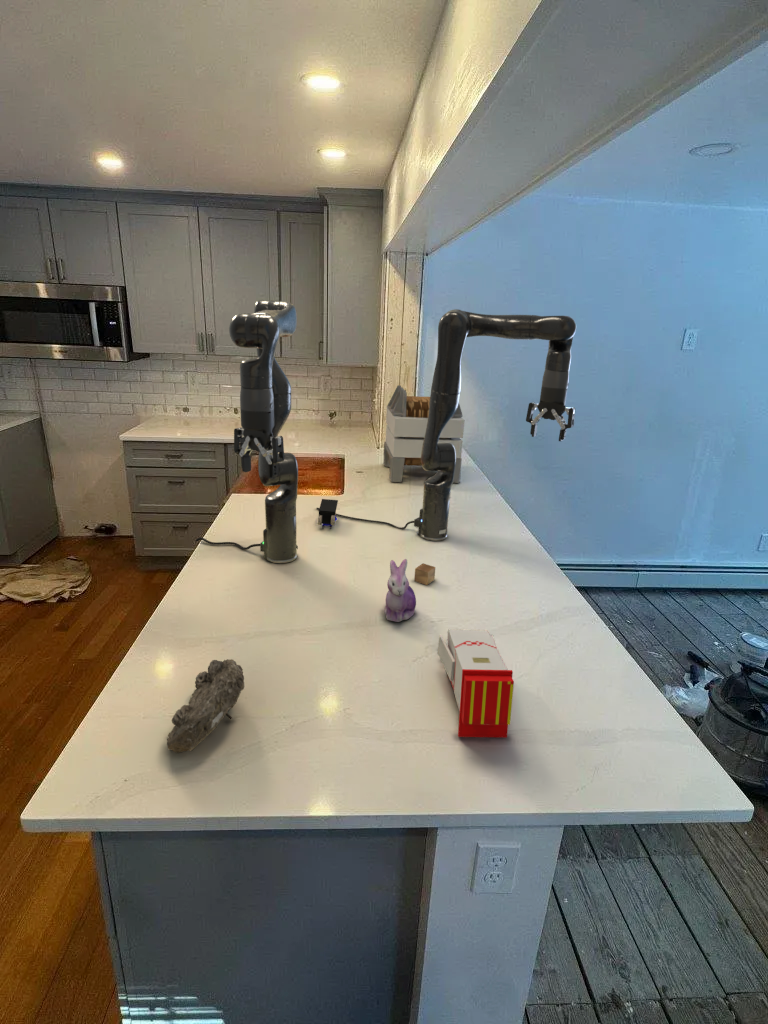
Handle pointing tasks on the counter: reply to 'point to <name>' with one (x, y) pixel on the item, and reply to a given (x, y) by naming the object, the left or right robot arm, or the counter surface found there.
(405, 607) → the figurine
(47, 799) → the counter surface
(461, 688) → the toy
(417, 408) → the grey slatted planter box
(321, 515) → the figurine character
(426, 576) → the block
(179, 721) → the fossil
